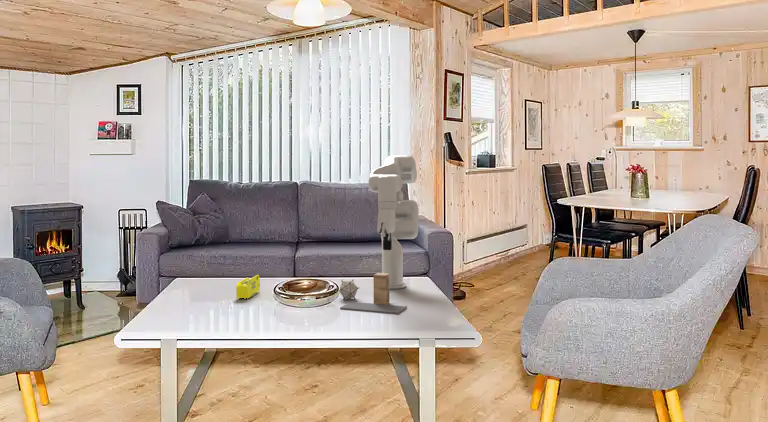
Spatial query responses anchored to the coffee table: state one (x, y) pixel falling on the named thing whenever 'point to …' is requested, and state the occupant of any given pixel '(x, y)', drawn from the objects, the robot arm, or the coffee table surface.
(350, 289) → the game die
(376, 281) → the oak block
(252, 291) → the yellow toy chassis
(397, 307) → the mat
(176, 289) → the coffee table surface
